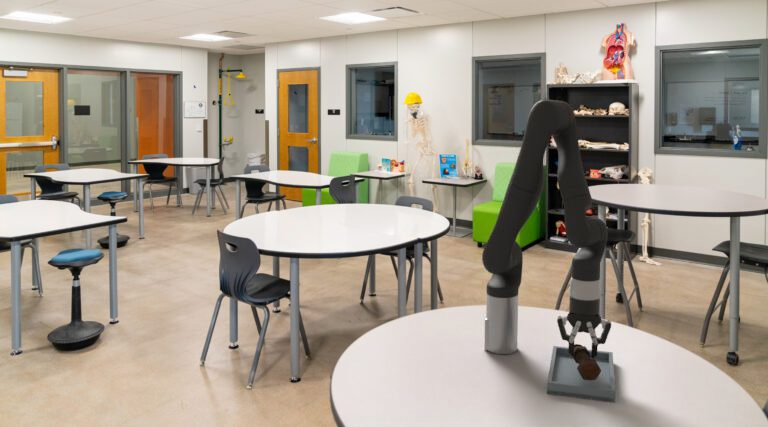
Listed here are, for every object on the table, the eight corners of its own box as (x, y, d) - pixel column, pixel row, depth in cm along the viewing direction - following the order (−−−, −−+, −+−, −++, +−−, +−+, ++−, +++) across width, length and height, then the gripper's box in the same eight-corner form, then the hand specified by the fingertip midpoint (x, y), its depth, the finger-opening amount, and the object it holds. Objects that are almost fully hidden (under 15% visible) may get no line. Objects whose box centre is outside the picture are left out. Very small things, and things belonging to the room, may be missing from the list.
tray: (546, 393, 151) (547, 382, 150) (553, 355, 173) (553, 345, 173) (614, 402, 146) (615, 391, 145) (612, 362, 168) (612, 352, 167)
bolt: (579, 361, 166) (592, 385, 151) (563, 352, 166) (574, 375, 151) (591, 344, 164) (604, 366, 150) (575, 335, 165) (587, 356, 150)
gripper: (555, 296, 154) (553, 358, 157) (614, 301, 150) (611, 365, 153) (557, 288, 161) (555, 348, 164) (613, 292, 157) (611, 353, 160)
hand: (582, 355), depth 158 cm, fingers closed on bolt, 4 cm apart
